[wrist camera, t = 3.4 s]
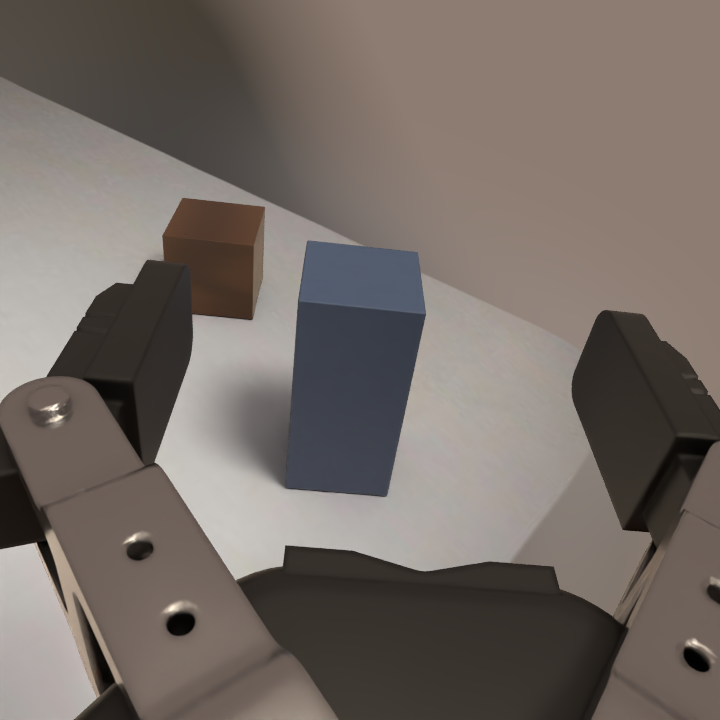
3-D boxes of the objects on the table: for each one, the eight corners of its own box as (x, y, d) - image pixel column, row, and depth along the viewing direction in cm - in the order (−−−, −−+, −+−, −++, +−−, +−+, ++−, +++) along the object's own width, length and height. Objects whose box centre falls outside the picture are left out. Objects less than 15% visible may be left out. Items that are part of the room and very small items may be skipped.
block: (262, 277, 43) (264, 206, 40) (252, 319, 39) (253, 245, 36) (186, 269, 43) (182, 197, 40) (167, 311, 39) (162, 235, 36)
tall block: (384, 426, 33) (418, 251, 27) (387, 496, 30) (426, 313, 23) (294, 418, 33) (307, 239, 27) (285, 488, 29) (297, 300, 23)
